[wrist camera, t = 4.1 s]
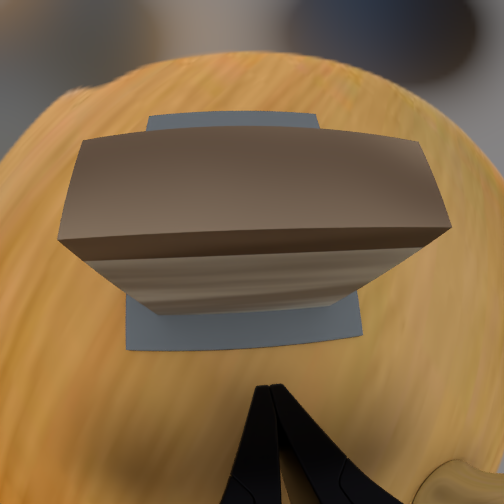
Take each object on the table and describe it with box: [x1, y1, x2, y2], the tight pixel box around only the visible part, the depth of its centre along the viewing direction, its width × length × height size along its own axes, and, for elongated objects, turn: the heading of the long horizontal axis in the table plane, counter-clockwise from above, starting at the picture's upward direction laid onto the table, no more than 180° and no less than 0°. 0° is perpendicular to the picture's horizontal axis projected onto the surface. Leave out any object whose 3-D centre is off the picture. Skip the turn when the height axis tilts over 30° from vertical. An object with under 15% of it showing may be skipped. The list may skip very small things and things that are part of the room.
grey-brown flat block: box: [57, 126, 452, 315], centre depth 12 cm, size 3×10×11 cm, turn 94°
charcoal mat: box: [126, 111, 363, 351], centre depth 19 cm, size 18×14×1 cm
